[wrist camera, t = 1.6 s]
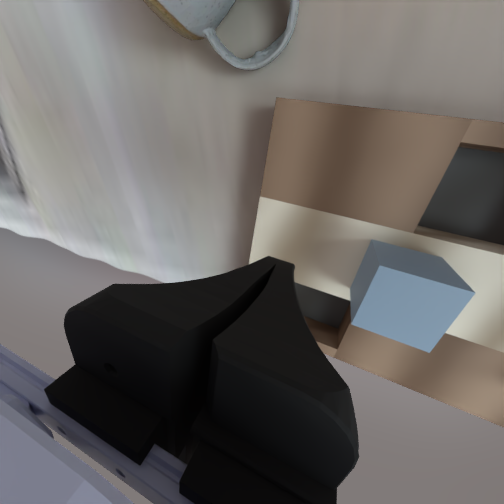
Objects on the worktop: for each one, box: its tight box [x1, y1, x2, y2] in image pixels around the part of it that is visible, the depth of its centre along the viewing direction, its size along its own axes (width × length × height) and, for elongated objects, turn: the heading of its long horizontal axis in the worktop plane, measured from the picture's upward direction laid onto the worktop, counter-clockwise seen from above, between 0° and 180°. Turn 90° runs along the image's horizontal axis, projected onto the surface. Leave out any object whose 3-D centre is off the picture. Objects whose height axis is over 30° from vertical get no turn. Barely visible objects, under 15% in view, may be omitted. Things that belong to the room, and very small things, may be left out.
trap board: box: [249, 97, 504, 427], centre depth 15 cm, size 22×18×5 cm
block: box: [350, 239, 475, 353], centre depth 13 cm, size 4×4×4 cm
